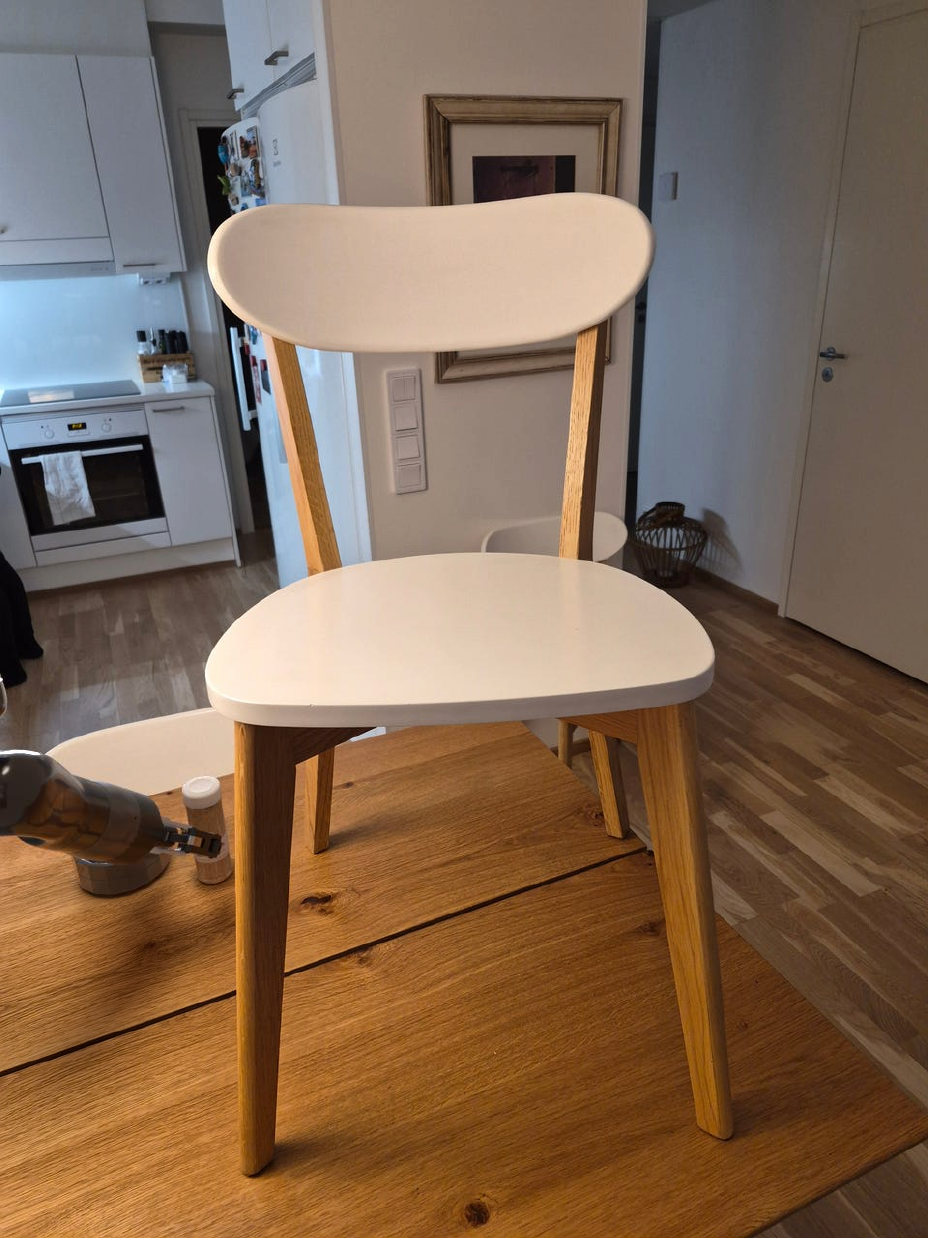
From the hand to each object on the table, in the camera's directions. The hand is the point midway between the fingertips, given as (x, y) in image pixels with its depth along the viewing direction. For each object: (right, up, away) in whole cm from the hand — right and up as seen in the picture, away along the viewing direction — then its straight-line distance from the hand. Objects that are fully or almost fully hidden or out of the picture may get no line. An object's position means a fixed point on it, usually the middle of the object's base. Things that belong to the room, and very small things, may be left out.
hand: (185, 842), depth 98 cm
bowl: (-11, -5, +8) cm, 14 cm away
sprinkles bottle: (+2, -6, +7) cm, 9 cm away
